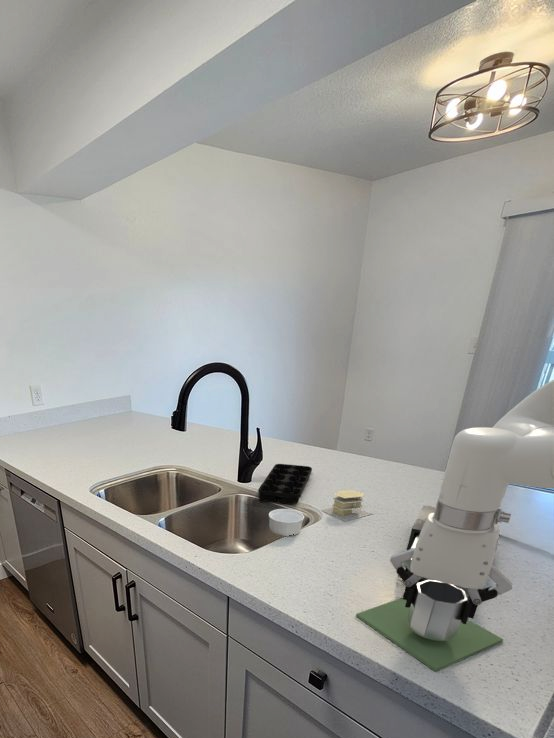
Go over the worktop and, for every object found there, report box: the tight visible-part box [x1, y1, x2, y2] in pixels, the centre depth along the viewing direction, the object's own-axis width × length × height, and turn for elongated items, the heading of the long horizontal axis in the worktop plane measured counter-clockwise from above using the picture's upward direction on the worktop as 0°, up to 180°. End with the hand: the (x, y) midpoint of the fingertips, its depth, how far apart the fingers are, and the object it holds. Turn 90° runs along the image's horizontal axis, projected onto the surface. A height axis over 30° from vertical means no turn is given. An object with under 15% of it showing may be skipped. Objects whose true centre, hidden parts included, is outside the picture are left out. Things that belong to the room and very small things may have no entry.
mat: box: [355, 596, 504, 673], centre depth 77 cm, size 16×16×1 cm
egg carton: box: [257, 463, 313, 505], centre depth 141 cm, size 18×30×4 cm, turn 166°
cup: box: [408, 580, 468, 641], centre depth 72 cm, size 7×7×8 cm
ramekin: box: [268, 508, 305, 537], centre depth 114 cm, size 9×9×4 cm
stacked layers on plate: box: [321, 489, 373, 522], centre depth 122 cm, size 10×9×6 cm
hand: (435, 610), depth 72 cm, fingers closed on cup, 7 cm apart
